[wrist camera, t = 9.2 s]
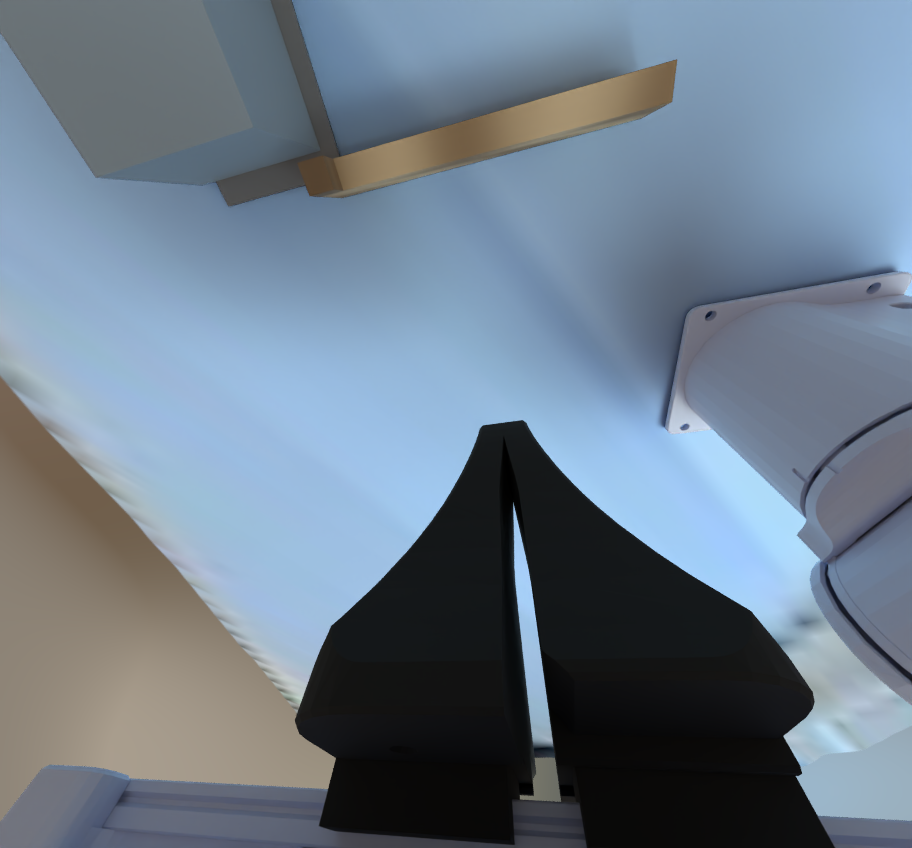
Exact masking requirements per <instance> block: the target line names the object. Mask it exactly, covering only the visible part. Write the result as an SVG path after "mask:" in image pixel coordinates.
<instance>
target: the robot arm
mask: <svg viewBox="0 0 912 848" xmlns="http://www.w3.org/2000/svg"><path fill="white" fill-rule="evenodd" d="M911 280H912V275H911V274H910V273H908V272H902V271H896V272H891V273H885V274H879V275H873V276H868V277H862V278H856V279H850V280H845V281H839V282H833V283H828V284H822V285H816V286H810V287H805V288H799V289H793V290H787V291H782V292H776V293H770V294H764V295H759V296H753V297H747V298H741V299H736V300H730V301H724V302H719V303H713V304H707V305H701V306H697V307H694V308H693V309H691V310H690V311H689V312H688V313H687V316H686V319H685V324H684V329H683V335H682V340H681V345H680V350H679V356H678V361H677V366H676V371H675V377H674V382H673V387H672V392H671V398H670V403H669V408H668V413H667V419H666V424H665V429H666V430H667V431H668V432H669V433H670V434H680V433H688V432H697V431H705V430H714V431H715V432H716V433H717V434H718V435H719V436H720V437H721V438H722V439H723V440H724V441H725V442H726V443H727V444H728V445H729V446H730V447H731V448H732V449H734V450H735V451H736V452H737V453H738V454H739V455H740V456H741V457H742V458H743V459H744V460H745V461H746V462H747V463H748V464H749V465H750V466H751V467H752V468H753V469H754V470H755V471H757V472H758V473H759V474H760V475H761V476H762V477H763V478H764V479H765V480H766V481H767V482H768V483H769V484H770V485H771V486H772V487H773V488H774V489H775V490H776V491H777V492H778V493H779V494H781V495H782V496H783V497H784V498H785V499H786V500H787V501H788V502H789V503H790V504H791V505H792V506H793V507H794V508H795V509H796V510H797V511H798V512H799V513H800V514H801V515H802V516H803V517H805V518H806V519H807V520H806V523H805V525H804V526H803V528H802V529H801V530H800V531H799V532H798V534H797V536H798V537H799V538H800V539H801V540H802V541H803V542H804V543H805V544H806V545H807V546H808V547H809V548H810V549H811V550H812V551H813V553H814V554H815V555H816V556H817V557H818V558H819V559H820V561H818V562H817V563H816V564H815V566H814V567H813V569H812V571H811V575H810V584H811V590H812V592H813V595H814V598H815V600H816V602H817V604H818V606H819V608H820V609H821V611H822V613H823V615H824V616H825V618H826V619H827V621H828V622H829V624H830V625H831V626H832V628H833V629H834V630H835V632H836V633H837V634H838V636H839V637H840V638H841V640H842V641H843V642H844V643H845V645H846V646H847V647H848V648H849V649H850V650H851V652H852V653H853V654H854V655H855V656H856V657H857V658H858V659H859V660H860V661H861V662H862V663H863V664H864V665H865V666H866V667H867V668H868V669H869V670H870V671H871V672H872V673H873V674H874V675H875V676H876V677H878V678H879V679H880V680H881V681H882V682H883V683H884V684H886V685H887V686H888V687H889V688H890V689H891V690H893V691H894V692H895V693H896V694H898V695H899V696H900V697H901V698H903V699H904V700H905V701H907V702H908V703H909V704H911V705H912V297H910V296H906V295H904V294H905V292H906V290H907V288H908V286H909V284H910V282H911ZM871 285H872V286H871ZM869 286H871V288H870V289H869V290H867V289H868V288H869ZM710 311H712V314H711V316H709V317H708V318H706V319H705V316H706V314H707V313H708V312H710ZM683 424H685V425H684V426H683V427H681V426H682V425H683ZM513 502H514V507H515V511H516V515H517V520H518V524H519V529H520V533H521V537H522V542H523V546H524V551H525V555H526V560H527V564H528V569H529V574H530V580H531V586H532V593H533V600H534V608H535V615H536V622H537V629H538V637H539V644H540V651H541V658H542V666H543V673H544V680H545V687H546V695H547V702H548V709H549V716H550V724H551V731H552V738H553V746H554V753H555V760H556V766H557V774H558V781H559V789H560V796H561V802H554V801H553V802H551V801H534V800H520V795H528V796H534V791H533V778H534V776H535V774H536V767H535V759H534V750H533V741H532V732H531V724H530V715H529V706H528V697H527V688H526V679H525V670H524V661H523V652H522V642H521V633H520V624H519V615H518V605H517V596H516V586H515V571H514V520H513ZM814 702H815V701H814V696H813V692H812V690H811V689H810V688H809V686H808V685H807V683H806V682H805V680H804V679H803V677H802V676H801V674H800V673H799V671H798V670H797V669H796V667H795V666H794V664H793V663H792V661H791V660H790V659H789V657H788V656H787V655H786V653H785V652H784V651H783V650H782V648H781V647H780V646H779V644H778V643H777V642H776V641H775V639H774V638H773V637H772V636H771V635H770V633H769V632H768V631H767V630H766V629H765V627H764V626H763V625H762V624H761V623H760V621H759V620H758V619H757V618H756V617H755V615H754V614H753V613H752V612H751V611H750V610H748V609H747V608H745V607H743V606H741V605H740V604H738V603H736V602H735V601H733V600H731V599H730V598H728V597H726V596H725V595H723V594H721V593H720V592H718V591H716V590H715V589H713V588H711V587H710V586H708V585H706V584H705V583H703V582H701V581H700V580H698V579H696V578H695V577H693V576H691V575H690V574H688V573H687V572H685V571H684V570H682V569H681V568H679V567H678V566H676V565H675V564H673V563H672V562H670V561H669V560H667V559H666V558H664V557H663V556H661V555H660V554H658V553H657V552H655V551H654V550H653V549H651V548H650V547H649V546H647V545H646V544H645V543H643V542H642V541H641V540H639V539H638V538H637V537H635V536H634V535H632V534H631V533H630V532H628V531H627V530H626V529H624V528H623V527H622V526H620V525H619V524H618V523H616V522H615V521H614V520H613V519H612V518H610V517H609V516H608V515H607V514H606V513H604V512H603V511H602V510H601V509H600V508H598V507H597V506H596V505H595V504H594V503H593V502H592V501H591V500H590V499H588V498H587V497H586V496H585V495H584V494H583V493H582V492H581V491H580V490H579V489H578V488H577V487H576V486H575V485H574V484H573V483H572V482H571V481H570V480H569V479H568V478H567V477H566V476H565V475H564V474H563V473H562V472H561V470H560V469H559V468H558V467H557V466H556V465H555V464H554V462H553V461H552V460H551V459H550V457H549V456H548V455H547V454H546V453H545V451H544V450H543V449H542V447H541V446H540V445H539V443H538V442H537V440H536V439H535V437H534V436H533V434H532V433H531V431H530V429H529V428H528V426H527V423H526V422H524V421H523V420H521V421H513V422H505V423H498V424H490V425H483V426H482V427H481V428H480V430H479V434H478V437H477V440H476V443H475V445H474V448H473V450H472V452H471V455H470V457H469V459H468V461H467V463H466V465H465V467H464V469H463V471H462V473H461V475H460V477H459V479H458V480H457V482H456V484H455V486H454V487H453V489H452V491H451V493H450V494H449V496H448V498H447V499H446V501H445V502H444V504H443V505H442V507H441V508H440V510H439V511H438V513H437V514H436V516H435V517H434V518H433V520H432V521H431V522H430V524H429V525H428V526H427V528H426V529H425V530H424V531H423V533H422V534H421V535H420V537H419V538H418V539H417V540H416V542H415V543H414V544H413V545H412V546H411V548H410V549H409V550H408V551H407V552H406V553H405V554H404V555H403V557H402V558H401V559H400V560H399V561H398V562H397V563H396V564H395V565H394V566H393V567H392V568H391V570H390V571H389V572H388V573H387V574H386V575H385V576H384V577H383V578H382V579H381V580H380V581H379V582H378V583H377V584H376V585H375V586H374V587H373V588H372V589H371V590H370V591H369V592H368V593H367V594H366V595H365V596H364V597H363V598H362V599H360V600H359V601H358V602H357V603H356V604H355V605H354V606H353V607H352V608H351V609H350V610H349V611H348V612H346V613H345V614H344V615H343V616H342V617H341V618H340V619H339V620H338V621H337V622H335V623H334V624H333V625H332V626H331V628H330V630H329V633H328V635H327V637H326V639H325V641H324V643H323V645H322V648H321V650H320V652H319V655H318V657H317V660H316V662H315V665H314V668H313V671H312V673H311V676H310V679H309V682H308V685H307V687H306V690H305V693H304V696H303V699H302V702H301V704H300V707H299V710H298V713H297V716H296V718H295V723H296V725H297V729H298V731H299V734H300V735H302V736H303V737H304V738H305V739H307V740H308V741H310V742H311V743H313V744H314V745H316V746H318V747H319V748H321V749H322V750H324V751H326V752H328V753H329V754H331V755H332V756H334V757H335V758H336V761H335V765H334V768H333V772H332V777H331V780H330V784H329V788H328V789H314V788H296V787H295V788H293V787H276V786H259V785H240V784H222V783H204V782H185V781H167V780H166V781H165V780H148V779H130V778H129V776H128V775H125V774H122V773H119V772H116V771H111V770H107V769H102V768H96V767H85V766H84V767H83V766H64V765H48V766H46V767H44V768H43V769H41V770H40V772H39V773H38V774H37V775H36V777H35V778H34V779H33V781H32V782H31V783H30V784H29V785H28V787H27V788H26V789H25V791H24V792H23V793H22V794H21V796H20V797H19V798H18V800H17V801H16V802H15V803H14V805H13V806H12V807H11V809H10V810H9V811H8V813H7V814H6V815H5V816H4V818H3V819H2V820H1V822H0V848H912V821H903V820H885V819H866V818H848V817H830V816H817V814H816V812H815V810H814V809H813V807H812V805H811V803H810V801H809V800H808V798H807V796H806V794H805V792H804V791H803V789H802V787H801V785H800V783H799V782H798V780H797V778H796V776H799V775H801V774H802V771H801V767H800V765H799V763H798V761H797V759H796V758H795V756H794V754H793V753H792V751H791V749H790V747H789V746H788V744H787V742H786V740H785V739H784V737H783V736H784V735H785V734H786V733H787V732H789V731H790V730H791V729H792V728H794V727H795V726H796V725H797V724H799V723H800V722H801V721H802V720H803V719H805V718H806V717H807V716H808V714H809V713H810V712H811V710H812V709H813V705H814Z"/></svg>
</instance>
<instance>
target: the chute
mask: <svg viewBox="0 0 912 848" xmlns="http://www.w3.org/2000/svg"><path fill="white" fill-rule="evenodd" d="M676 65H677V60H673V61H670V62H666V63H663V64H659V65H656V66H652V67H649V68H645V69H642V70H638V71H635V72H632V73H628V74H625V75H621V76H618V77H614V78H611V79H607V80H604V81H600V82H597V83H594V84H590V85H587V86H583V87H580V88H576V89H573V90H569V91H566V92H562V93H559V94H555V95H552V96H549V97H545V98H542V99H538V100H535V101H531V102H528V103H524V104H521V105H517V106H514V107H510V108H507V109H504V110H500V111H497V112H493V113H490V114H486V115H483V116H479V117H476V118H472V119H469V120H466V121H462V122H459V123H455V124H452V125H448V126H445V127H441V128H438V129H434V130H431V131H427V132H424V133H421V134H417V135H414V136H410V137H407V138H403V139H400V140H396V141H393V142H389V143H386V144H383V145H379V146H376V147H372V148H369V149H365V150H362V151H358V152H355V153H351V154H348V155H344V156H341V157H338V158H334V159H332V158H329V157H326V156H323V155H322V156H319V157H315V158H312V159H308V160H305V161H302V162H298V163H297V164H298V166H299V169H300V172H301V174H302V177H303V180H304V183H305V185H306V188H307V191H308V193H309V196H314V197H332V198H344V197H348V196H352V195H356V194H359V193H363V192H367V191H371V190H374V189H378V188H382V187H386V186H389V185H393V184H397V183H401V182H404V181H408V180H412V179H416V178H420V177H423V176H427V175H431V174H435V173H438V172H442V171H446V170H450V169H453V168H457V167H461V166H465V165H468V164H472V163H476V162H480V161H483V160H487V159H491V158H495V157H498V156H502V155H506V154H510V153H513V152H517V151H521V150H525V149H528V148H532V147H536V146H540V145H543V144H547V143H551V142H555V141H558V140H562V139H566V138H570V137H573V136H577V135H581V134H585V133H588V132H592V131H596V130H600V129H603V128H607V127H611V126H615V125H618V124H622V123H626V122H630V121H633V120H637V119H641V118H643V117H645V116H647V115H648V114H650V113H652V112H654V111H656V110H658V109H660V108H662V107H663V106H665V105H667V104H669V103H671V102H672V98H673V90H674V81H675V73H676Z"/></svg>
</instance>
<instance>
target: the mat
mask: <svg viewBox="0 0 912 848" xmlns="http://www.w3.org/2000/svg"><path fill="white" fill-rule="evenodd" d="M270 1H271V4H272V7H273V10H274V13H275V16H276V19H277V21H278V24H279V27H280V30H281V33H282V36H283V39H284V42H285V45H286V48H287V51H288V54H289V57H290V60H291V63H292V66H293V69H294V72H295V75H296V78H297V81H298V84H299V87H300V90H301V93H302V96H303V99H304V102H305V105H306V108H307V111H308V114H309V117H310V120H311V123H312V126H313V129H314V132H315V135H316V138H317V141H318V144H319V147H320V150H321V151H317V152H314V153H311V154H307V155H304V156H300V157H297V158H294V159H290V160H287V161H284V162H280V163H277V164H273V165H270V166H267V167H263V168H260V169H256V170H253V171H250V172H246V173H243V174H240V175H236V176H233V177H229V178H226V179H223V180H219V181H216V183H217V185H218V187H219V189H220V191H221V193H222V195H223V197H224V199H225V201H226V203H227V205H228V206H233V205H236V204H240V203H243V202H247V201H251V200H254V199H258V198H261V197H265V196H269V195H272V194H276V193H279V192H283V191H286V190H290V189H294V188H297V187H301V186H304V185H305V183H304V180H303V177H302V174H301V172H300V169H299V166H298V164H297V163H298V162H302V161H305V160H308V159H312V158H315V157H319V156H322V155H323V156H326V157H329V158H332V159H334V158H338V157H340V154H339V151H338V148H337V145H336V142H335V138H334V135H333V132H332V129H331V126H330V122H329V119H328V116H327V113H326V110H325V106H324V103H323V100H322V97H321V94H320V90H319V87H318V84H317V81H316V78H315V74H314V71H313V68H312V65H311V61H310V58H309V55H308V52H307V49H306V45H305V42H304V39H303V36H302V33H301V29H300V26H299V23H298V20H297V17H296V13H295V10H294V7H293V4H292V1H291V0H270Z"/></svg>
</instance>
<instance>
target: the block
mask: <svg viewBox="0 0 912 848" xmlns="http://www.w3.org/2000/svg"><path fill="white" fill-rule="evenodd" d="M0 33H1V34H2V36H3V37H4V39H5V40H6V42H7V43H8V45H9V46H10V48H11V49H12V51H13V52H14V54H15V55H16V57H17V59H18V60H19V62H20V63H21V65H22V66H23V68H24V69H25V71H26V72H27V74H28V75H29V77H30V78H31V80H32V81H33V83H34V84H35V86H36V87H37V89H38V90H39V92H40V94H41V95H42V97H43V98H44V100H45V101H46V103H47V104H48V106H49V107H50V109H51V110H52V112H53V113H54V115H55V116H56V118H57V119H58V121H59V122H60V124H61V126H62V127H63V129H64V130H65V132H66V133H67V135H68V136H69V138H70V139H71V141H72V142H73V144H74V145H75V147H76V148H77V150H78V151H79V153H80V154H81V156H82V158H83V159H84V161H85V162H86V164H87V165H88V167H89V168H90V170H91V171H92V173H93V174H94V176H95V177H96V178H106V179H120V180H134V181H148V182H161V183H175V184H189V185H206V184H209V183H213V182H216V181H219V180H223V179H226V178H229V177H233V176H236V175H240V174H243V173H246V172H250V171H253V170H256V169H260V168H263V167H267V166H270V165H273V164H277V163H280V162H284V161H287V160H290V159H294V158H297V157H300V156H304V155H307V154H311V153H314V152H317V151H321V150H320V147H319V144H318V141H317V138H316V135H315V132H314V129H313V126H312V123H311V120H310V117H309V114H308V111H307V108H306V105H305V102H304V99H303V96H302V93H301V90H300V87H299V84H298V81H297V78H296V75H295V72H294V69H293V66H292V63H291V60H290V57H289V54H288V51H287V48H286V45H285V42H284V39H283V36H282V33H281V30H280V27H279V24H278V21H277V19H276V16H275V13H274V10H273V7H272V4H271V1H270V0H0Z"/></svg>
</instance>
